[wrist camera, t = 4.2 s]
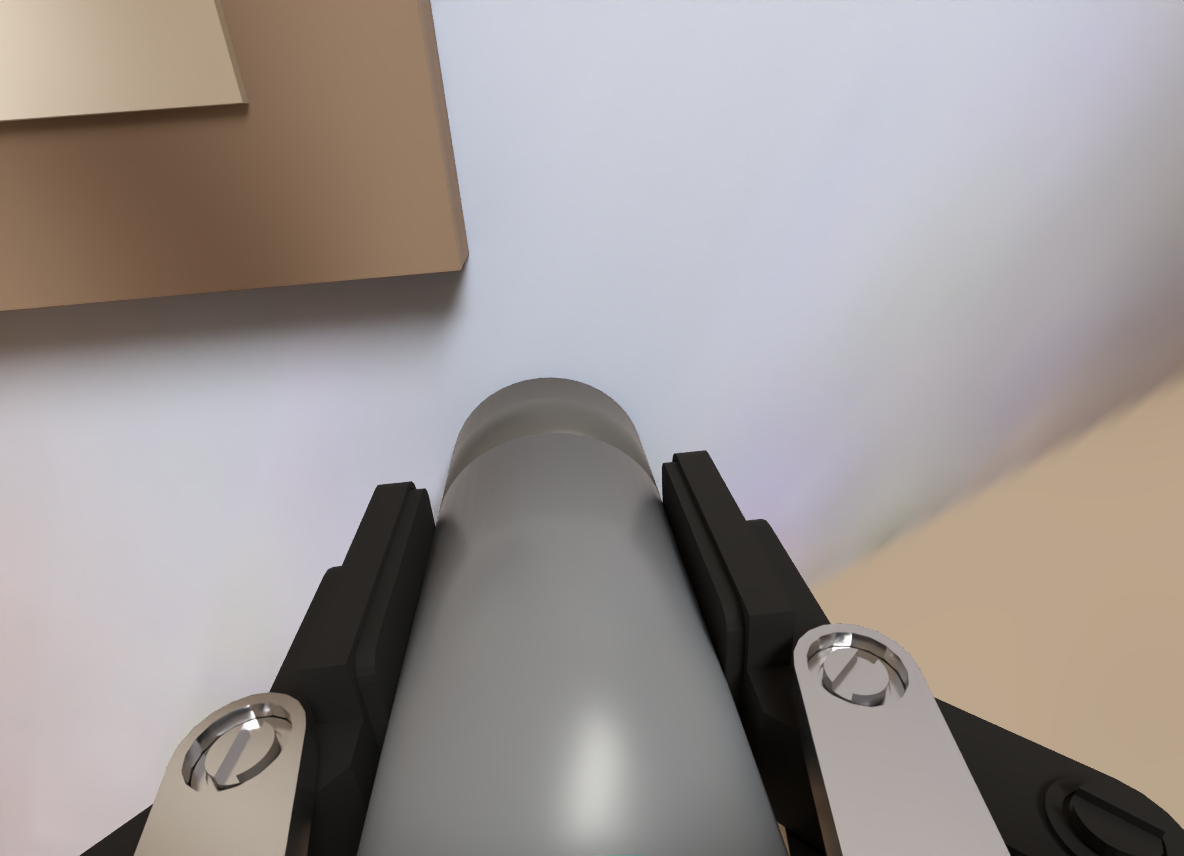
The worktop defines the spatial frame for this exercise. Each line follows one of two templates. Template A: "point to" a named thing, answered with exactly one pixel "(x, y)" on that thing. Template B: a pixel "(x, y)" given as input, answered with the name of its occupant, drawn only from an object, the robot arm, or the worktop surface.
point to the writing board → (220, 147)
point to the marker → (561, 659)
